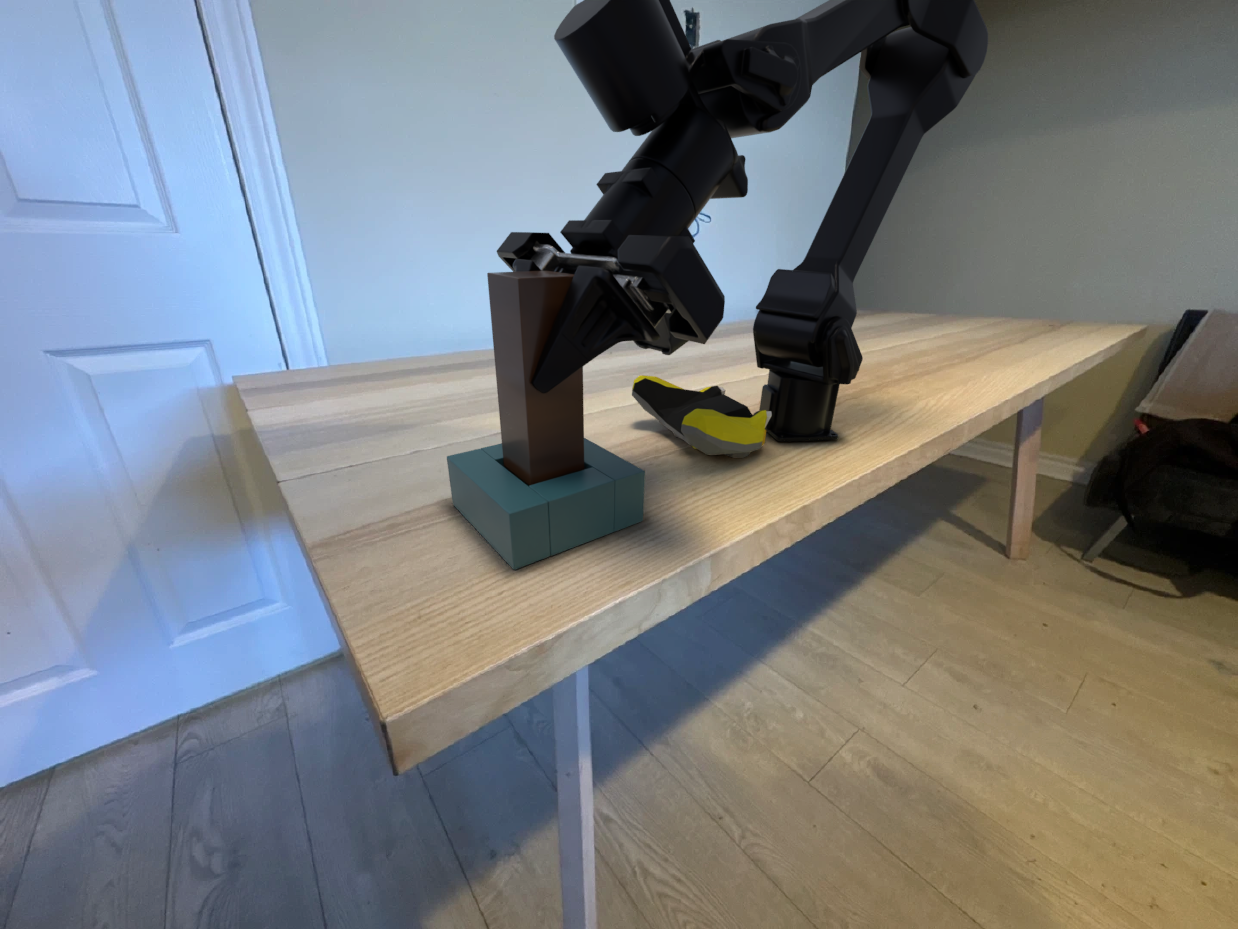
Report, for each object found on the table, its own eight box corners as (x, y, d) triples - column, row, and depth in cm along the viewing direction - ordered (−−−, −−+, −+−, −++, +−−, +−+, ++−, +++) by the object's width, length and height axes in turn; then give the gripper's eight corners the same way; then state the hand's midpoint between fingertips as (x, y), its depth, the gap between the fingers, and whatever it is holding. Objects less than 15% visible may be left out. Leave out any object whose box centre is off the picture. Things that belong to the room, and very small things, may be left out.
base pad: (568, 471, 44) (566, 427, 43) (643, 521, 37) (645, 470, 35) (452, 504, 39) (446, 455, 37) (513, 570, 31) (509, 513, 30)
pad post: (554, 452, 39) (547, 270, 34) (584, 472, 36) (581, 275, 31) (503, 465, 37) (486, 272, 31) (531, 487, 34) (518, 277, 28)
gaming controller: (689, 479, 43) (787, 463, 47) (694, 417, 41) (797, 405, 44) (624, 422, 56) (704, 412, 59) (625, 372, 54) (709, 365, 57)
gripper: (816, 293, 33) (680, 491, 32) (636, 273, 47) (534, 411, 45) (750, 136, 26) (567, 387, 24) (558, 166, 39) (432, 328, 38)
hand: (520, 381), depth 33 cm, fingers closed on pad post, 4 cm apart
